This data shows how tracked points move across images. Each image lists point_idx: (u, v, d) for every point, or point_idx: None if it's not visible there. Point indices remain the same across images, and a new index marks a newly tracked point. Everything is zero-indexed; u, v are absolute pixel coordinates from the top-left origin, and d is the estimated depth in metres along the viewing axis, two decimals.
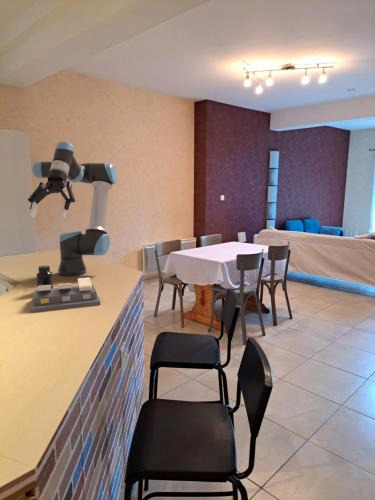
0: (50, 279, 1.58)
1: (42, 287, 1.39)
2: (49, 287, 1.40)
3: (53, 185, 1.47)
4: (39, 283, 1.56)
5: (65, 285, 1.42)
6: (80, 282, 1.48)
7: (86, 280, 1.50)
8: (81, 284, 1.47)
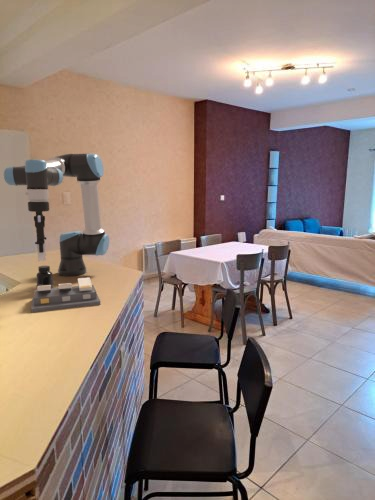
0: (50, 279, 1.58)
1: (42, 287, 1.39)
2: (49, 287, 1.40)
3: None
4: (39, 283, 1.56)
5: (65, 285, 1.42)
6: (80, 282, 1.48)
7: (86, 280, 1.50)
8: (81, 284, 1.47)
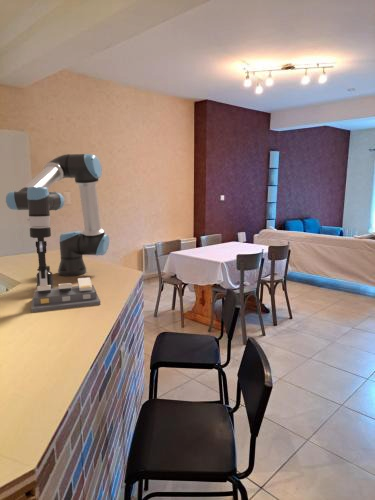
0: (50, 279, 1.58)
1: (42, 287, 1.39)
2: (49, 287, 1.40)
3: None
4: (39, 283, 1.56)
5: (65, 285, 1.42)
6: (80, 282, 1.48)
7: (86, 280, 1.50)
8: (81, 284, 1.47)
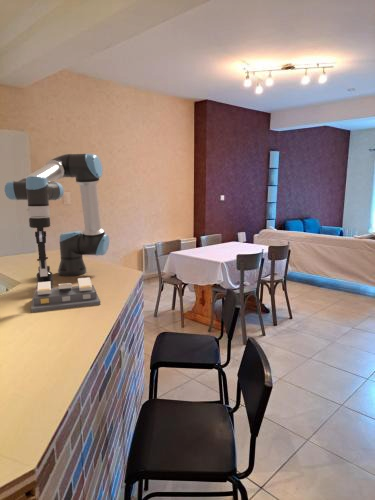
0: (50, 279, 1.58)
1: (42, 291, 1.39)
2: (49, 291, 1.40)
3: None
4: None
5: (65, 285, 1.42)
6: (80, 282, 1.48)
7: (86, 280, 1.50)
8: (81, 284, 1.47)
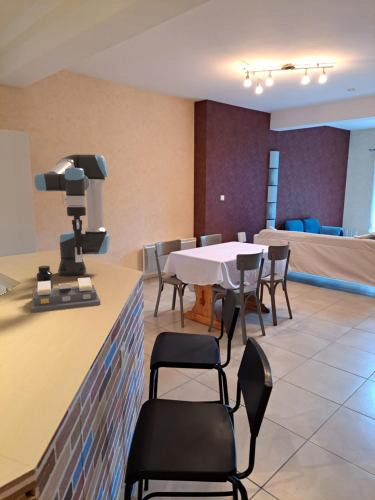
0: (50, 279, 1.58)
1: (42, 292, 1.39)
2: (49, 292, 1.40)
3: None
4: None
5: (65, 285, 1.42)
6: (80, 282, 1.48)
7: (86, 280, 1.50)
8: (81, 284, 1.47)
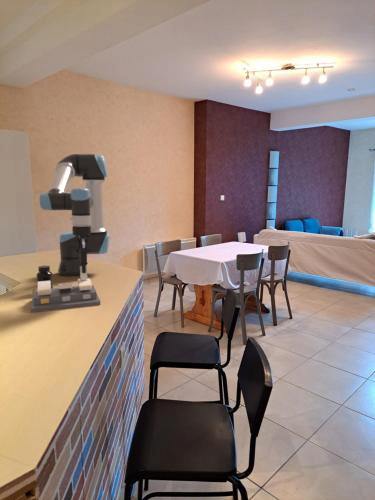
0: (50, 279, 1.58)
1: (42, 292, 1.39)
2: (49, 292, 1.40)
3: None
4: None
5: (65, 285, 1.42)
6: (80, 282, 1.48)
7: (86, 280, 1.50)
8: (81, 284, 1.47)
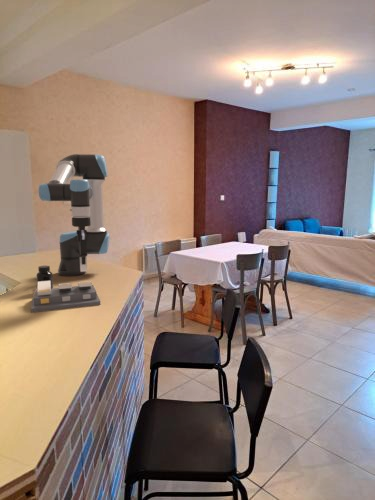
0: (50, 279, 1.58)
1: (42, 292, 1.39)
2: (49, 292, 1.40)
3: None
4: None
5: (65, 285, 1.42)
6: None
7: None
8: None
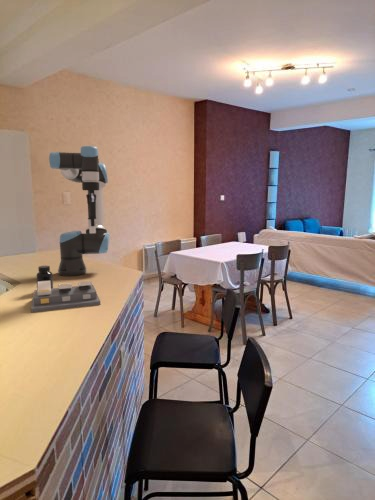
0: (50, 279, 1.58)
1: (42, 292, 1.39)
2: (49, 292, 1.40)
3: None
4: None
5: (65, 285, 1.42)
6: None
7: None
8: None
